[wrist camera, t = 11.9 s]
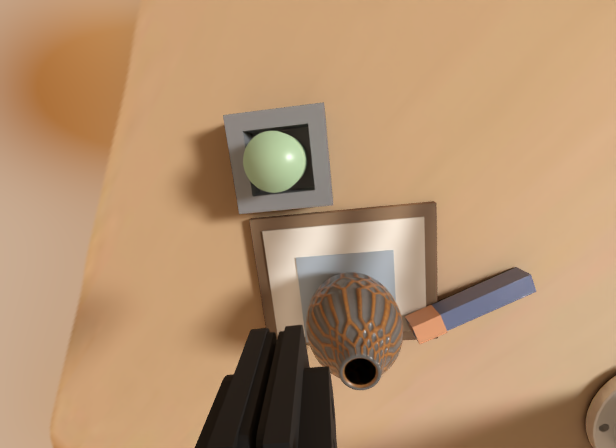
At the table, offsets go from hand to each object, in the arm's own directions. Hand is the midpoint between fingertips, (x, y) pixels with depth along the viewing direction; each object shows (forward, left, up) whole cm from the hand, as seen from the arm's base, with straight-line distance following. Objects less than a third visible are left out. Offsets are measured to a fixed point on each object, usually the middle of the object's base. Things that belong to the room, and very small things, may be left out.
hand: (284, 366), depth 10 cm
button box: (+2, -6, -16) cm, 17 cm away
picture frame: (-2, +4, -16) cm, 17 cm away
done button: (+2, -6, -14) cm, 16 cm away
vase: (-3, +6, -15) cm, 17 cm away
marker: (-12, +7, -16) cm, 21 cm away
